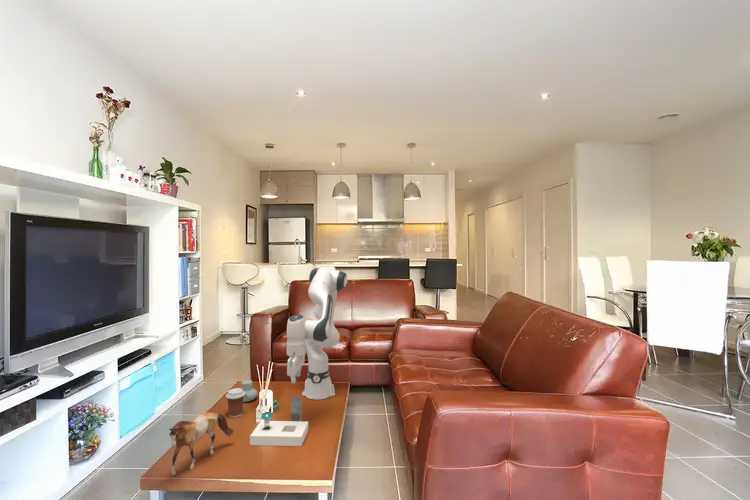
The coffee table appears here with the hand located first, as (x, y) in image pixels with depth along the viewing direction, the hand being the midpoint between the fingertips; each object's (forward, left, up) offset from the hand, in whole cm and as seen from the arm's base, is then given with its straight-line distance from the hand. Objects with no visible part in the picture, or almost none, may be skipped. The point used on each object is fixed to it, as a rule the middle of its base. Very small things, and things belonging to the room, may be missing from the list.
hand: (296, 379), depth 182 cm
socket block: (+13, -4, -21) cm, 25 cm away
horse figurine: (+33, -28, -22) cm, 48 cm away
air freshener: (-27, -34, -22) cm, 49 cm away
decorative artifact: (-15, -18, -22) cm, 32 cm away
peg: (0, 0, -21) cm, 21 cm away
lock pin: (+13, -10, -18) cm, 24 cm away
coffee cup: (-9, -33, -22) cm, 40 cm away
